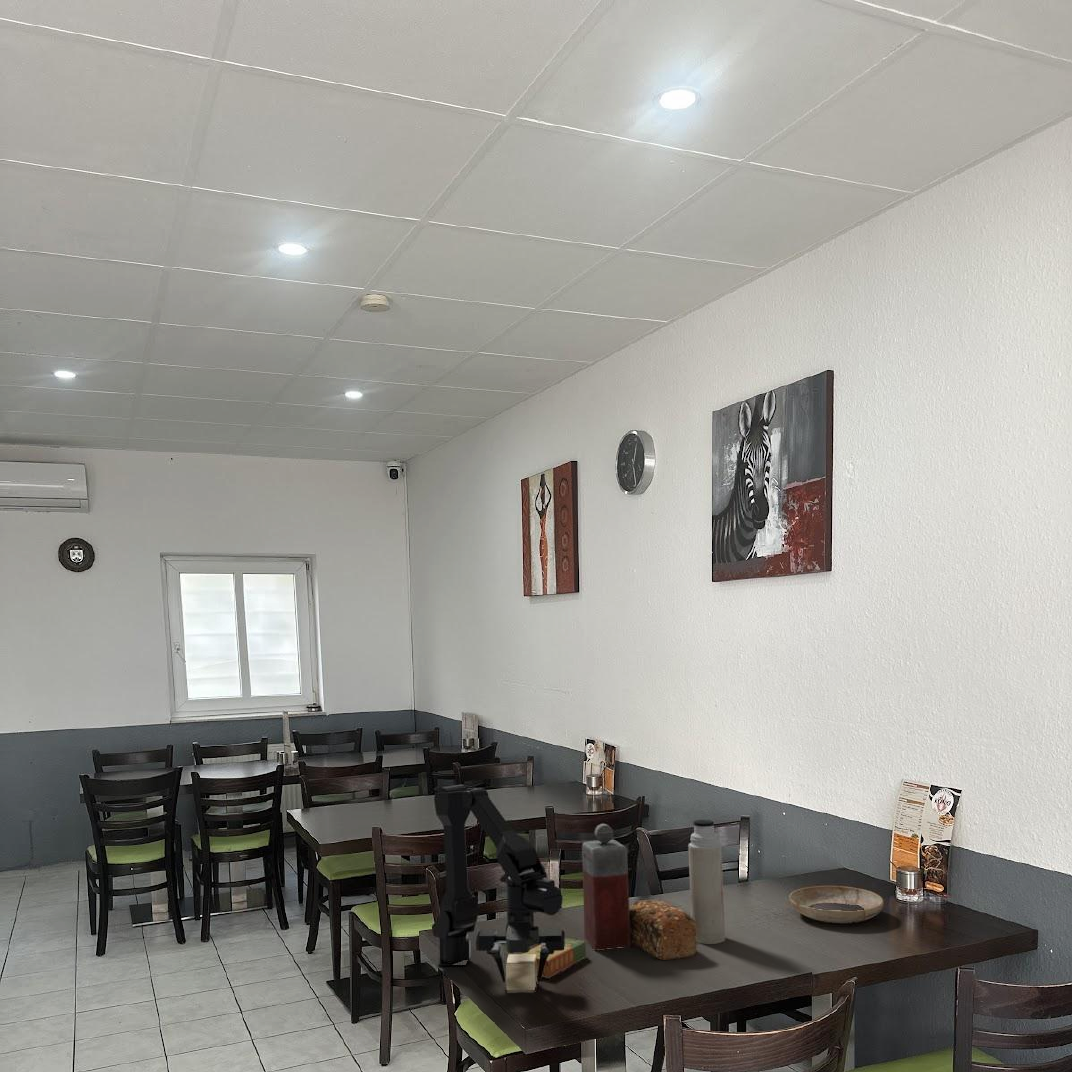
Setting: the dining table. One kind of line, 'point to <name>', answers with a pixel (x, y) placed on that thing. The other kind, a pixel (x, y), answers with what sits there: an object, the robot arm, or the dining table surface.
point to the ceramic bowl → (836, 894)
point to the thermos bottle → (706, 883)
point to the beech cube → (521, 972)
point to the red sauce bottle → (605, 891)
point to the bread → (662, 929)
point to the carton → (561, 956)
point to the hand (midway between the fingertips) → (521, 981)
